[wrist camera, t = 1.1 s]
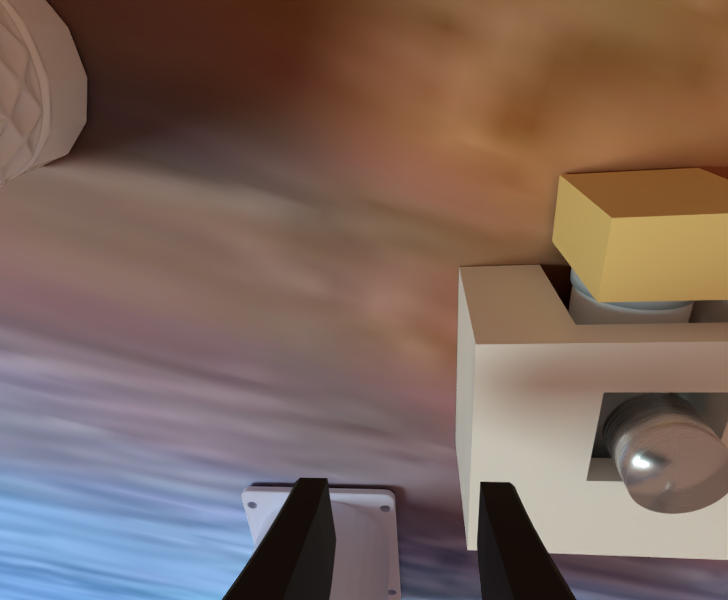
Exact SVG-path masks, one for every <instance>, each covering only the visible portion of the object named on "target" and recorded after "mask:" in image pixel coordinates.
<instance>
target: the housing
mask: <svg viewBox="0 0 728 600" xmlns="http://www.w3.org/2000/svg"><path fill="white" fill-rule="evenodd" d="M604 392H669V393H670V394H674V395H678V396H680V397H682V398H684V399H686V400H688V401H689V402H690V403H691V404H692V405H693V406H694V407H695V408H696V410H697V411H698V412H699V414H700V415H701V416H702V417H703V419H704V420H705V421H706V422H707V424H708V425H709V426H710V427H711V429H712V430H713V431H714V432H715V434H716V435H717V436H718V437H719V439H720V440H721V441H722V442H723V444H724V445H725V446H726V447H727V449H728V300H696V301H695V302H694V303H693V307H692V310H691V314H690V318H689V321H688V323H661V324H598V325H576V324H575V323H574V321H573V319H572V318H571V316H570V314H569V313H568V311H567V309H566V308H565V306H564V304H563V303H562V301H561V299H560V298H559V296H558V294H557V293H556V291H555V289H554V288H553V286H552V284H551V283H550V281H549V279H548V278H547V276H546V274H545V273H544V271H543V269H542V268H541V266H540V265H509V266H476V267H459V298H458V347H457V397H456V451H457V460H458V469H459V478H460V487H461V496H462V506H463V515H464V524H465V533H466V542H467V550H477V533H478V515H479V496H480V482H510V483H511V484H513V485H514V486H515V488H516V490H517V493H518V495H519V497H520V499H521V502H522V504H523V506H524V508H525V510H526V512H527V514H528V516H529V518H530V520H531V522H532V524H533V526H534V528H535V530H536V531H537V533H538V535H539V537H540V539H541V541H542V542H543V544H544V546H545V548H546V550H547V551H548V553H557V554H583V555H610V556H637V557H663V558H690V559H717V560H728V493H727V494H726V495H725V496H724V497H723V498H721V499H720V500H719V501H717V502H715V503H714V504H712V505H710V506H707V507H705V508H702V509H699V510H696V511H692V512H687V513H679V514H666V513H659V512H654V511H651V510H648V509H646V508H644V507H642V506H640V505H639V504H637V503H636V502H635V501H634V500H633V499H632V497H631V496H630V494H629V492H628V490H627V488H626V486H625V484H624V482H623V480H622V478H621V476H620V474H619V472H618V470H617V468H616V466H615V464H614V462H613V459H612V458H591V455H592V449H593V444H594V439H595V434H596V429H597V424H598V419H599V414H600V409H601V404H602V399H603V394H604Z"/></svg>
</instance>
